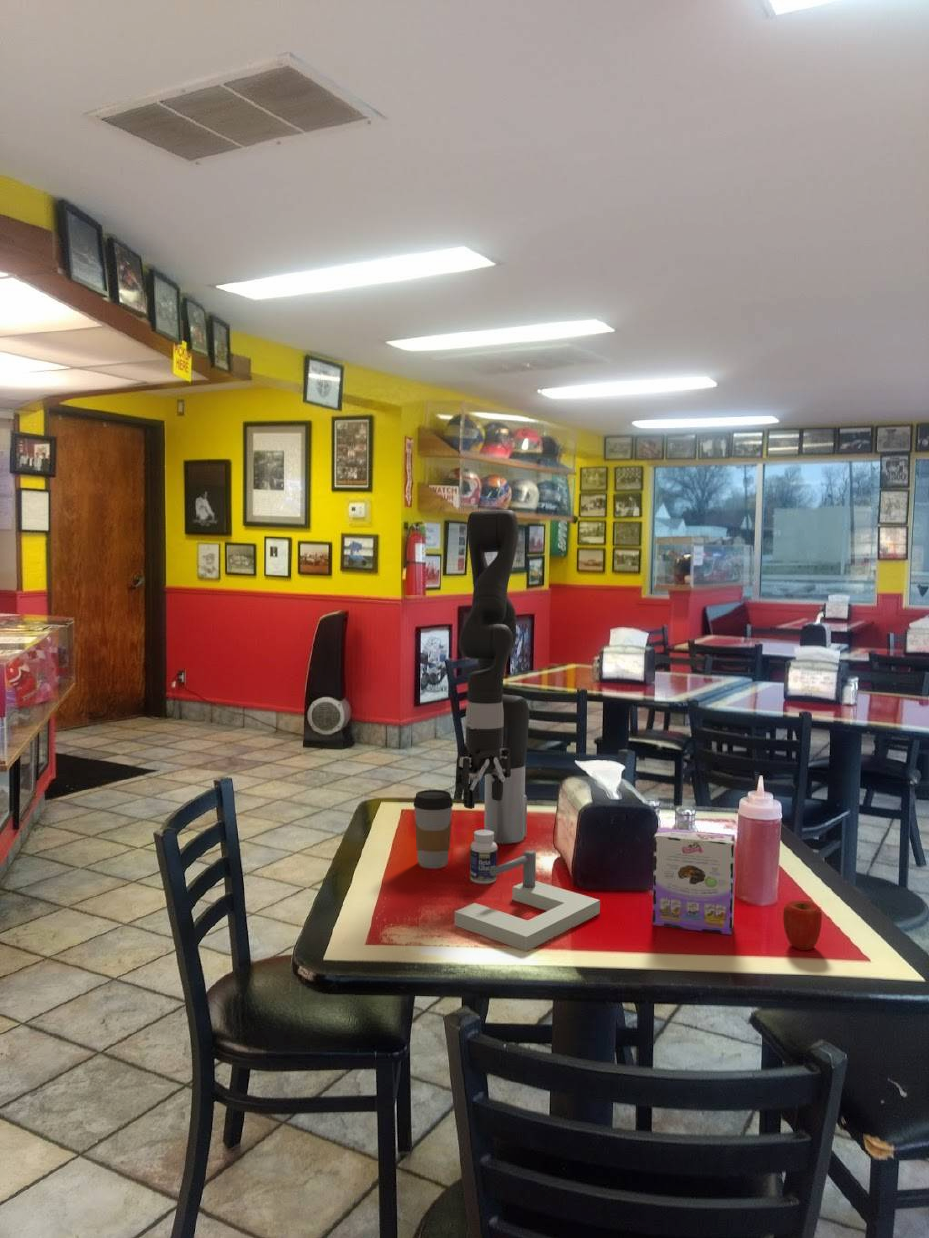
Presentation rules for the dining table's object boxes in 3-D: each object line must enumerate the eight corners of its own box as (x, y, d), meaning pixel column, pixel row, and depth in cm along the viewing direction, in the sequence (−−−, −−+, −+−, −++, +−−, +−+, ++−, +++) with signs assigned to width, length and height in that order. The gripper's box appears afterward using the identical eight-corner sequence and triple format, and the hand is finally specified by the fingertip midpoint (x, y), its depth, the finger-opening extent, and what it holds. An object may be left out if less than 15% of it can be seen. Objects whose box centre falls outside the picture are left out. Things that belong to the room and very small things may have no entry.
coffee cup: (451, 870, 193) (452, 799, 192) (411, 870, 193) (411, 799, 192) (453, 857, 201) (453, 789, 200) (414, 857, 201) (414, 788, 200)
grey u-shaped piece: (530, 891, 181) (530, 846, 181) (599, 913, 171) (600, 865, 170) (454, 925, 165) (454, 875, 164) (526, 951, 154) (527, 898, 154)
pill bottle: (478, 886, 184) (478, 837, 183) (465, 877, 189) (465, 830, 188) (501, 881, 187) (502, 834, 186) (488, 873, 191) (489, 826, 191)
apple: (789, 935, 162) (791, 893, 161) (826, 945, 158) (827, 902, 157) (776, 947, 157) (777, 903, 156) (813, 957, 153) (814, 913, 152)
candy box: (733, 923, 167) (736, 833, 165) (731, 936, 161) (734, 843, 160) (655, 913, 171) (657, 825, 170) (651, 925, 166) (653, 834, 164)
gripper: (493, 717, 193) (491, 794, 194) (446, 725, 183) (445, 807, 184) (521, 721, 188) (520, 800, 189) (475, 730, 178) (474, 814, 179)
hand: (483, 803), depth 187 cm, fingers open, 8 cm apart
